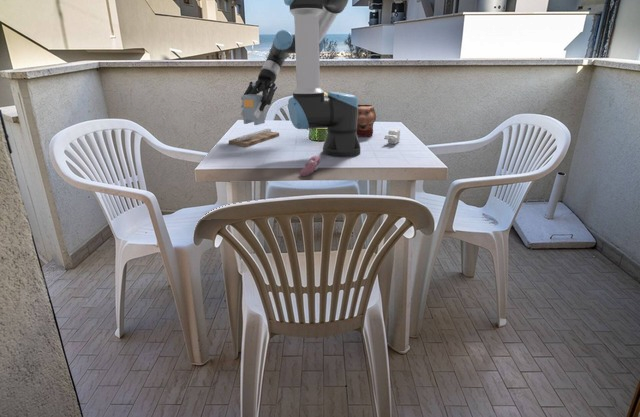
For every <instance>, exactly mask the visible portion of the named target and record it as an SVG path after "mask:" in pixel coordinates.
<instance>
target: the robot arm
mask: <svg viewBox="0 0 640 417" xmlns="http://www.w3.org/2000/svg"><path fill="white" fill-rule="evenodd" d="M283 2H284V4H285V6H289V13H290V14H291V15H292V16H293V17H294V18H293V19H294V21H293V22H294V34H291V32H290V31H288V30H286V29H280V30H279V31H277V32H276V34H275V35H274V38H273V41H272V44H271V47H270V50H269V53H268V56H267V57H266V60H265V62H264V63H263V66H262V67H261V70H260V72H259V74H258V76H257V79H256V81H255V82H253V81H250V82H249V84H248V87H247V88H246V90H245V92H244V93H243V95H249V94H255V95H260V93H261V92H262V94H261V95H263V97H262V100H261V102H262V103H261V102H260V103H259V105H258V107H257V109H256V111H255V113H254V115H255V117H256V118H259V116H260V113H261V111H263V110H264V111H265V107H266V106H270V105H271V104H272V101H273V98H274V95H275V93H276V90H277V89H278V85H276V83H275V81H276V80H277V77H278V76H279V73H280V72H281V69H282V67H283V64H284V62H285V60H286V59H287V57H288V54H290V55H291V54H295V72H296V73H295V74H296V78H295V79H296V87H295V90H294V91H293V92H292V97H290V98H289V99H288V104H287V109H288V116H289V118H290V122H291V124H292V126H293V127H294V128H295V129H297V130H309V129H323V128H327V130H326V132H327V133H326V136H325V138H324V142H323V145H322V153H323V154H324V155H327V156H329V157H334V158H336V157H337V158H348V157H356V156H359V155H360V154H361V144H360V140H359V138H358V137H359V136H357V116H358V105H359V101H358V97H357V95H355V94H350V93H346V92H345V93H344V92H336V91H329V92H327V96H325V91H324V90H323V89H322V88H321V78H320V77H321V73H320V68H321V67H320V54H321V53H322V52H323V48H324V37H326V36H325V35H326V34H327V33H328V32H329V29H330V28H331V26H332V24H333V23H334V21H335V19H336V18H337V16H338V15H339V14H341V13H342V12H343V11H344V10H345V9H346V7H347V5H348V3H349V0H283ZM241 100H242V97H241ZM239 114H240V116H242V118H243V105H241V109H240V111H239Z"/></svg>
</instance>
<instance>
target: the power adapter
mask: <svg viewBox="0 0 640 417" xmlns="http://www.w3.org/2000/svg"><path fill="white" fill-rule="evenodd" d="M400 136H401V129H399V128H391V129H389V130H388V134H386V135H384V140H387V143H388V144H393V145H396V144H398V143H400V139H401V138H400Z"/></svg>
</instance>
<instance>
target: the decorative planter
mask: <svg viewBox="0 0 640 417" xmlns="http://www.w3.org/2000/svg"><path fill="white" fill-rule="evenodd" d="M376 119H377V113H376V110H375V107H374V105H373V104H359V103H358V116H357V137H372V136H373V135H374V124H375V122H376Z"/></svg>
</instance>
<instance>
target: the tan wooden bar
mask: <svg viewBox="0 0 640 417" xmlns="http://www.w3.org/2000/svg"><path fill="white" fill-rule="evenodd" d="M271 132H272V129H271V128H264V129H260V130H258V131H255V132H252V133H251V132H250V133H248V134H246V135H241V136H238V137H236V138H237V141H239V142H243V141H246V140H249V139H252V138H255V137H258V136H261V135H265V134H268V133H271Z"/></svg>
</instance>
